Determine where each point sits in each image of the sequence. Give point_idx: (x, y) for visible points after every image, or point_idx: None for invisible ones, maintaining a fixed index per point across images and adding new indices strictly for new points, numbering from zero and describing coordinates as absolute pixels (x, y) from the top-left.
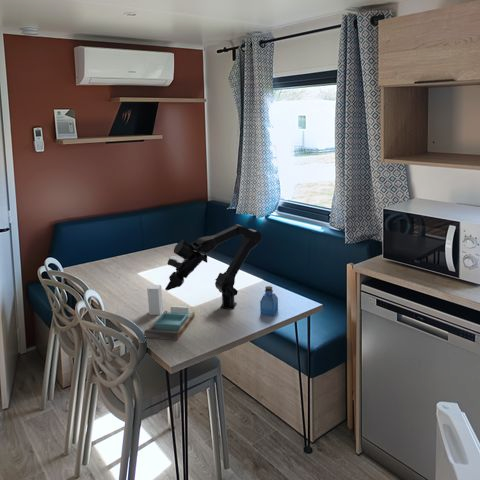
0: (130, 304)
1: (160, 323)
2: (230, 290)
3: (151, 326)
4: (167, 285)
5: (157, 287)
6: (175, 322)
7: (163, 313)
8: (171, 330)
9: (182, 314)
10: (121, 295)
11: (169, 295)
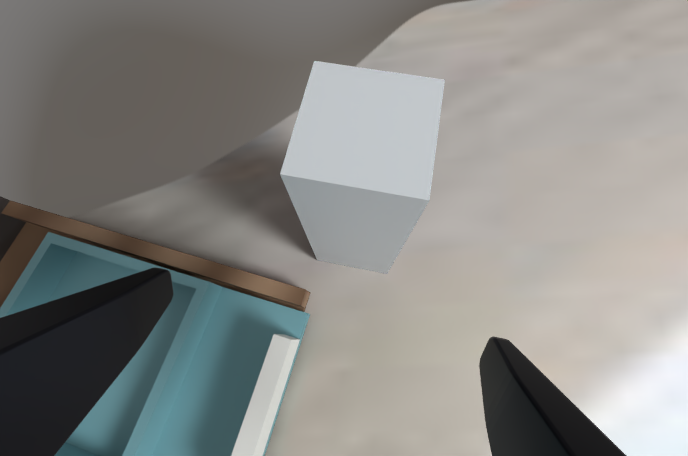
0: (496, 86)
1: (26, 275)
2: None
3: (71, 222)
4: (43, 307)
5: (333, 162)
6: None
7: (198, 283)
8: None
9: (128, 449)
10: (628, 30)
11: (676, 299)
